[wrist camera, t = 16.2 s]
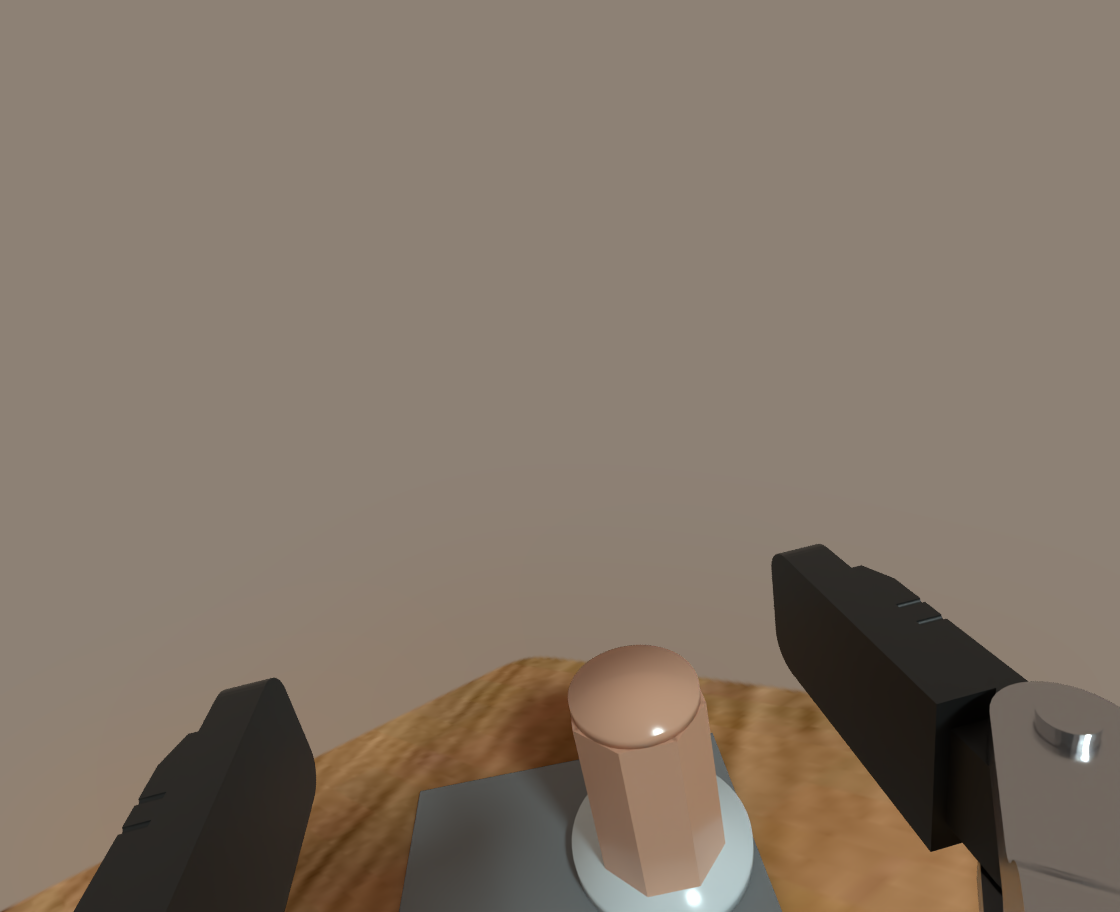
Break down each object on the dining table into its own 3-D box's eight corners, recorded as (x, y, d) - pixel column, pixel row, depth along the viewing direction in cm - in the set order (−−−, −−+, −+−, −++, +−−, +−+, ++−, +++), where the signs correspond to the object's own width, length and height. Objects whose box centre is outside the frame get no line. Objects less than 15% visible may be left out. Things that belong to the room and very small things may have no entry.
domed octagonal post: (610, 905, 31) (574, 752, 28) (594, 794, 38) (562, 658, 34) (737, 878, 31) (717, 722, 28) (700, 772, 38) (680, 634, 34)
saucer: (583, 958, 30) (580, 944, 30) (568, 787, 40) (565, 775, 39) (784, 918, 30) (783, 904, 30) (721, 756, 40) (719, 744, 39)
